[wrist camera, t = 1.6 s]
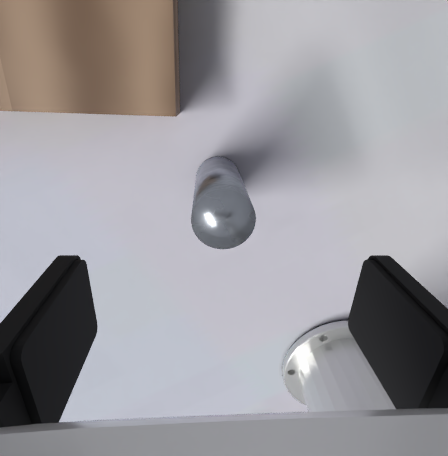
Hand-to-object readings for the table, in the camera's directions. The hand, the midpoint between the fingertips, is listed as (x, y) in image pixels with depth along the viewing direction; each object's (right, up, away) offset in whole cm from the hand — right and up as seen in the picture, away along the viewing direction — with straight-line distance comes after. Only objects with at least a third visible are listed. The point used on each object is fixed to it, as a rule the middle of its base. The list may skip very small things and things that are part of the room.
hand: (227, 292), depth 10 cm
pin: (-1, +6, +15) cm, 16 cm away
